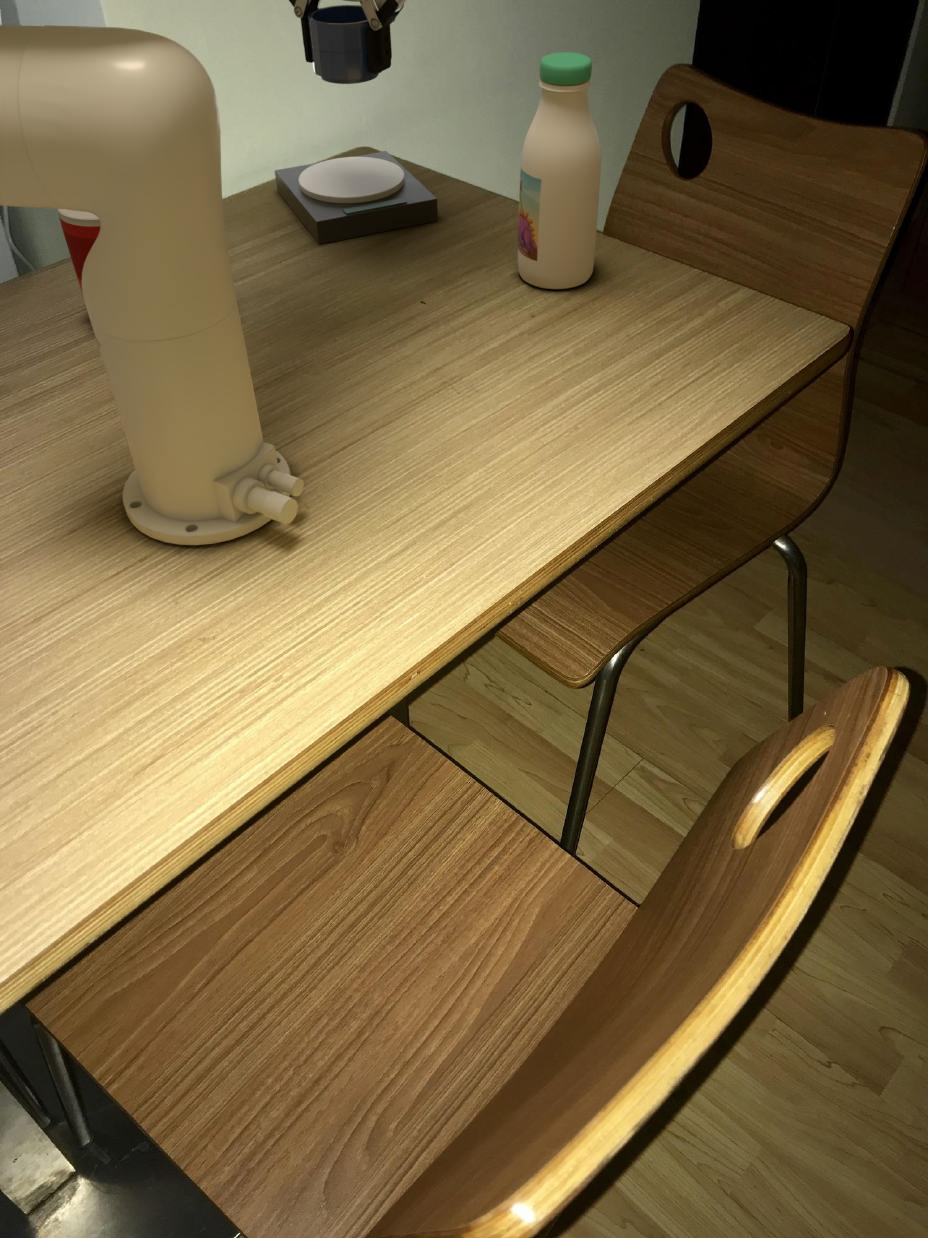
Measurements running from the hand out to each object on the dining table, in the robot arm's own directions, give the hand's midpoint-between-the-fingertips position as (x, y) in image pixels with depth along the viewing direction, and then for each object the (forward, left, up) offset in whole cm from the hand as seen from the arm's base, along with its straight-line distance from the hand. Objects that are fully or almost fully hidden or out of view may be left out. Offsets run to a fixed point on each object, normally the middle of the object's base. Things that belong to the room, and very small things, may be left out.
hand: (348, 63), depth 102 cm
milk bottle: (-26, +3, -16) cm, 31 cm away
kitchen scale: (+2, -1, -15) cm, 16 cm away
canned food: (+6, +31, -16) cm, 35 cm away
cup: (0, 0, -1) cm, 1 cm away
